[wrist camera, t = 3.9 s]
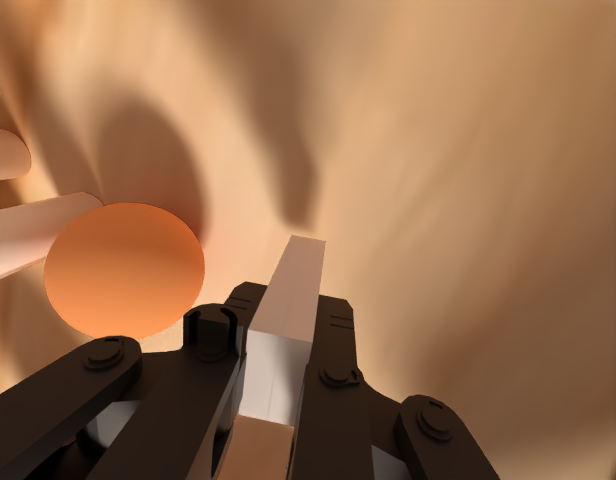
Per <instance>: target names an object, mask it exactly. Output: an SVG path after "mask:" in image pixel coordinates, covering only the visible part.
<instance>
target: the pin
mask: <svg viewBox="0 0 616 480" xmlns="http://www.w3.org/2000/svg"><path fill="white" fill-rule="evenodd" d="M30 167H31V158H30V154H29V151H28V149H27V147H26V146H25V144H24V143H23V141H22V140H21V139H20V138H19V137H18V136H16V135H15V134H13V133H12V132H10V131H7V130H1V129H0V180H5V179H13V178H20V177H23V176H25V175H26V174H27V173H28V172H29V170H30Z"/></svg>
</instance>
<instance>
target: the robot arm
mask: <svg viewBox="0 0 616 480" xmlns="http://www.w3.org/2000/svg"><path fill="white" fill-rule="evenodd" d="M325 242H326V241H321V240H316V239H311V238H305V237H300V236H295V235H292V236H291V238H290V240H289V242H288V244H287V246H286V248H285V251H284V253H283V255H282V257H281V259H280V261H279V264H278V266H277V268H276V270H275V272H274V274H273V276H272V279H271V281H270V283H269V285H268V286H267V285H261V284H256V283H251V282H246V281H245V282H244V283H242V284H240V285H238V286H237V287H235V288H234V289H233V291H232V292H231V294H230V295H229V298H227V300H226V301H225V303H224V304H216V303H211V304H204V305H200V306H197V307H195V308H192V309H190V310H189V311H188V312H187V313H185V314H184V315H183V346H182V347H181V349H179V350H175V351H168V352H152V353H142V352H141V347H140V344H139V343H138V342H137V341H136V340H135V339H133V338H131V337H127V336H123V335H117V336H106V337H102V338H98V339H94V340H92V341H90V342H88V343H85V344H83V345H81V346H80V347H78V348H76V349H75V350H73V351H71V352H70V353H68V354H66V355H65V356H63V357H61V358H60V359H58V360H56V361H55V362H53V363H51V364H50V365H48V366H46V367H45V368H43V369H41V370H40V371H38V372H36V373H35V374H33V375H31V376H30V377H28V378H26V379H24V380H23V381H21V382H19V383H18V384H16V385H14V386H13V387H11V388H9V389H8V390H6V391H4V392H3V393H1V394H0V480H217V478H218V475H219V472H220V469H221V466H222V464H223V461H224V458H225V455H226V452H227V449H228V446H229V444H230V441H231V438H232V433H233V425H234V419H235V416H236V413H237V411H238V408H239V405H240V409H239V415H242V416H247V417H252V418H257V419H261V420H266V421H271V422H275V423H280V424H285V425H290V426H294V427H295V428H294V434H293V439H292V444H291V449H290V453H289V458H288V463H287V468H286V470H287V474H286V480H500V478H499V476H498V475H497V473H496V472H495V470H494V469H493V467H492V466H491V464H490V463H489V461H488V460H487V458H486V457H485V455H484V453H483V452H482V450H481V449H480V447H479V446H478V444H477V443H476V441H475V440H474V438H473V437H472V435H471V434H470V432H469V431H468V429H467V427H466V426H465V424H464V423H463V422H462V420H461V419H460V418H459V417H458V416H457V415H456V413H455V412H454V411H453V410H451V409H450V408H449V407H447V406H446V405H445V404H444V403H442V402H440V401H438V400H436V399H434V398H432V397H429V396H423V395H414V396H409V397H407V398H406V399H405V400H404V401H403V402H402V404H400V403H398V402H396V401H394V400H392V399H390V398H388V397H386V396H384V395H382V394H380V393H379V392H377V391H375V390H374V389H373V388H372V387H370V386H369V385H368V384H367V383H366V382H365V380H364V377H363V374H362V372H361V371H360V370H359V368H358V366H357V356H356V343H355V331H354V322H353V321H354V317H353V309H352V307H351V306H350V305H349V303H348V302H347V300H344V299H339V298H334V297H329V296H324V295H319V289H320V281H321V274H322V266H323V258H324V250H325Z"/></svg>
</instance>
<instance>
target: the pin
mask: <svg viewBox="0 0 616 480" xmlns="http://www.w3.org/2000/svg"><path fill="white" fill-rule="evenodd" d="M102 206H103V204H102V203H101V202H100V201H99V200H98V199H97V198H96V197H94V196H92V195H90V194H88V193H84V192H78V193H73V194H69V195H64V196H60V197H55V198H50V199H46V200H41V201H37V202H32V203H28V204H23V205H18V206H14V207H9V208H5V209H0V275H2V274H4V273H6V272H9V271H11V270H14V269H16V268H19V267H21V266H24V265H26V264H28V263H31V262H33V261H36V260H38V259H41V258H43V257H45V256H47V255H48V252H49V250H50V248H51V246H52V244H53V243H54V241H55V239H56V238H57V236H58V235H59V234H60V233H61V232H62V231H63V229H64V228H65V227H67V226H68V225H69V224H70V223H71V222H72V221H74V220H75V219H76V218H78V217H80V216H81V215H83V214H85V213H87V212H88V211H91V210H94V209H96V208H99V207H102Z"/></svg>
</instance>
